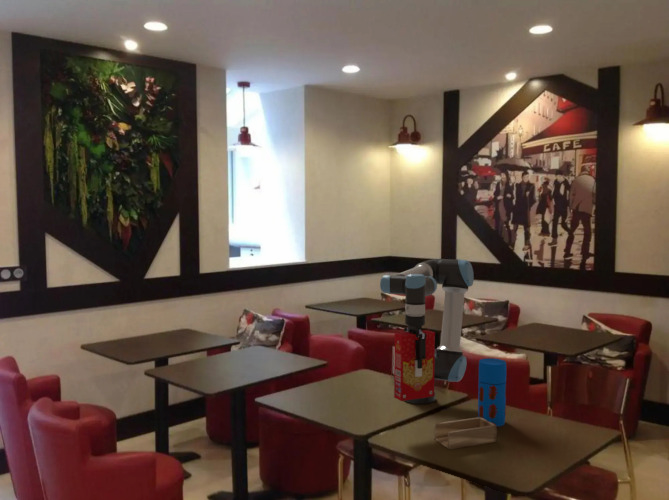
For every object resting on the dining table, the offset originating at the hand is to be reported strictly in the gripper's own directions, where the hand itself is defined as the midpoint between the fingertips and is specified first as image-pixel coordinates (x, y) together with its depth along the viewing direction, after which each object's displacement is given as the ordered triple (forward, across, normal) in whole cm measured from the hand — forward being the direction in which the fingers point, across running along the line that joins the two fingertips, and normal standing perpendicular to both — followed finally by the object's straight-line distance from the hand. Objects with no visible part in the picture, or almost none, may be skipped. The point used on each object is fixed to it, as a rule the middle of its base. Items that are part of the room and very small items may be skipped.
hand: (414, 374), depth 235 cm
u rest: (+23, +15, +14) cm, 30 cm away
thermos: (+23, +2, +35) cm, 42 cm away
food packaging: (+9, 0, 0) cm, 9 cm away
